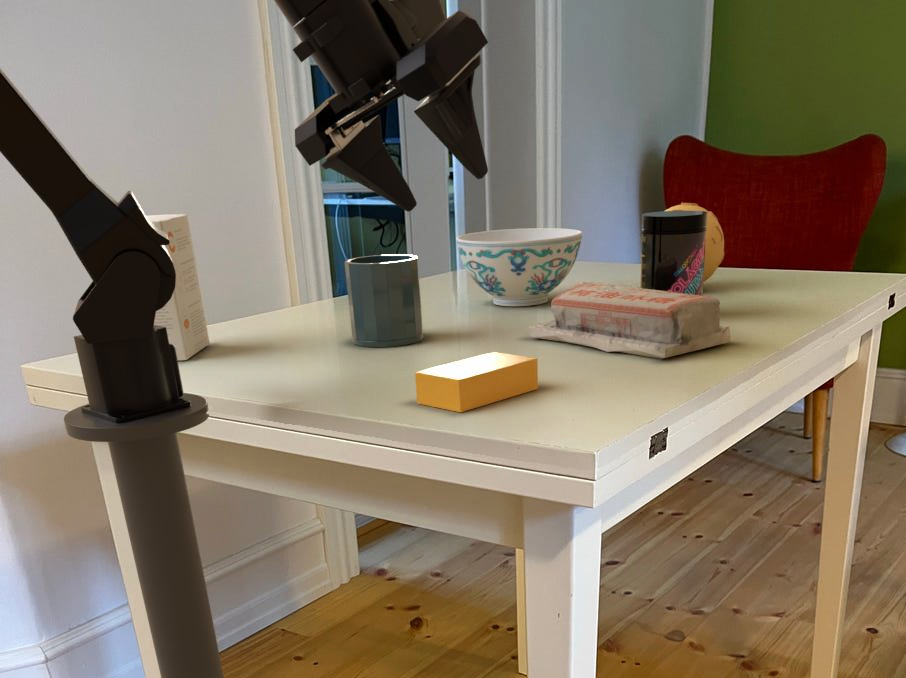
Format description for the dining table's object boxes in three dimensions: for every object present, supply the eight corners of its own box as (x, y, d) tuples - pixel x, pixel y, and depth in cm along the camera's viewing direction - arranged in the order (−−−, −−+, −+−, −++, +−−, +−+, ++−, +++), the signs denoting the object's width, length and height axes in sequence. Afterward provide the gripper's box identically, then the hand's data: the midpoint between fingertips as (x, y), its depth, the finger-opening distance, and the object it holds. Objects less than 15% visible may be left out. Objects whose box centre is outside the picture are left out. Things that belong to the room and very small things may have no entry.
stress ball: (640, 296, 121) (642, 207, 116) (643, 284, 129) (645, 201, 125) (723, 294, 119) (729, 204, 114) (721, 282, 128) (726, 198, 123)
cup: (384, 350, 99) (377, 265, 95) (339, 342, 103) (330, 261, 100) (437, 337, 103) (432, 256, 100) (391, 331, 108) (385, 253, 104)
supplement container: (651, 324, 104) (655, 217, 99) (630, 314, 110) (632, 213, 105) (712, 319, 105) (718, 213, 100) (687, 310, 111) (692, 209, 106)
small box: (153, 347, 106) (127, 215, 100) (211, 345, 106) (189, 212, 100) (125, 363, 99) (96, 222, 93) (187, 360, 99) (162, 219, 93)
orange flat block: (460, 412, 76) (458, 380, 74) (416, 403, 79) (414, 371, 78) (538, 389, 81) (537, 358, 80) (494, 381, 84) (493, 351, 83)
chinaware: (447, 298, 126) (443, 234, 123) (558, 289, 129) (557, 225, 126) (477, 316, 113) (474, 244, 110) (600, 305, 116) (600, 234, 113)
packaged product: (738, 290, 91) (667, 306, 86) (734, 344, 93) (665, 362, 88) (596, 276, 103) (526, 289, 98) (596, 324, 106) (528, 339, 100)
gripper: (464, -117, 67) (578, 96, 76) (321, 1, 82) (431, 170, 90) (371, -36, 63) (503, 181, 71) (238, 73, 77) (361, 244, 86)
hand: (446, 192), depth 80 cm, fingers open, 9 cm apart
